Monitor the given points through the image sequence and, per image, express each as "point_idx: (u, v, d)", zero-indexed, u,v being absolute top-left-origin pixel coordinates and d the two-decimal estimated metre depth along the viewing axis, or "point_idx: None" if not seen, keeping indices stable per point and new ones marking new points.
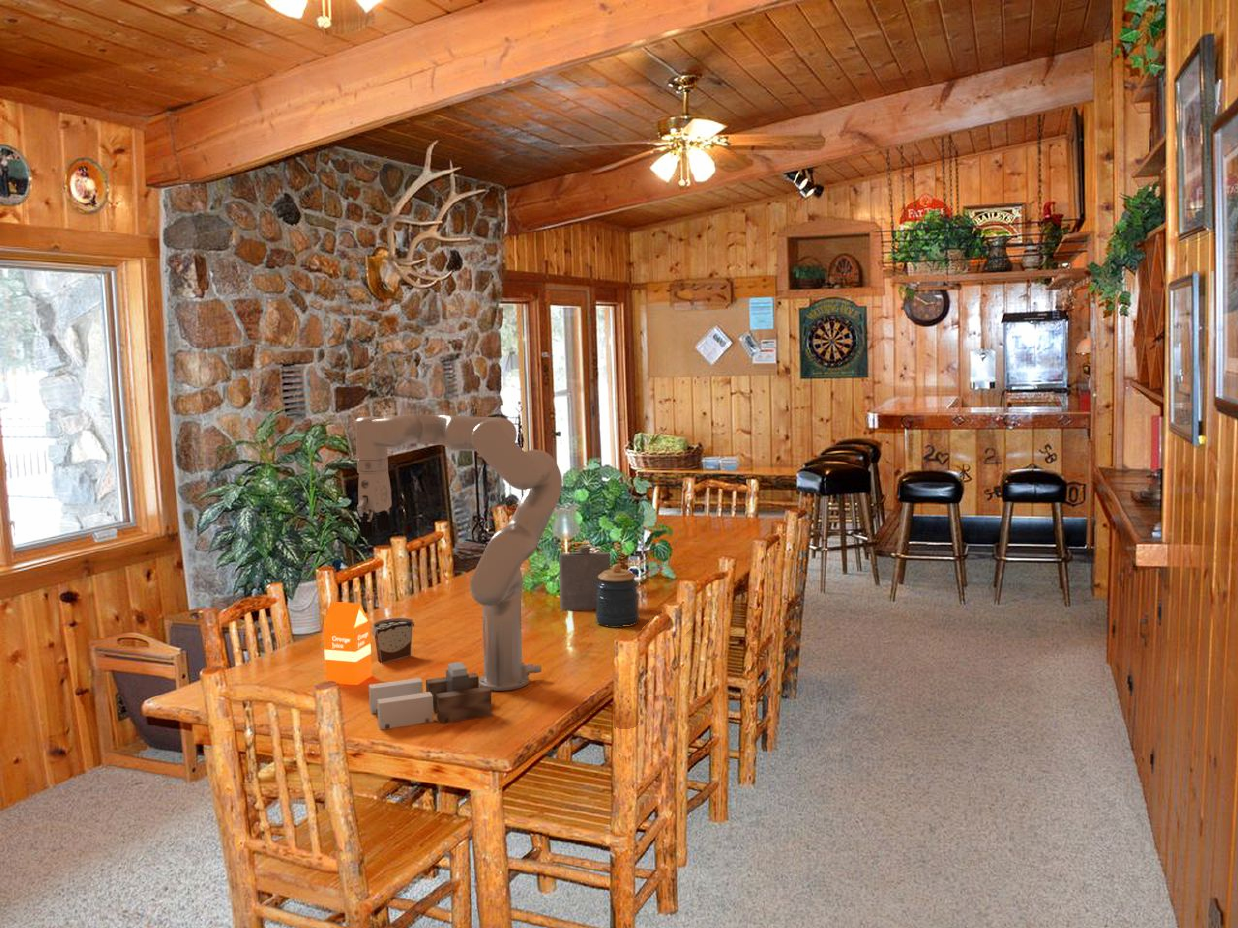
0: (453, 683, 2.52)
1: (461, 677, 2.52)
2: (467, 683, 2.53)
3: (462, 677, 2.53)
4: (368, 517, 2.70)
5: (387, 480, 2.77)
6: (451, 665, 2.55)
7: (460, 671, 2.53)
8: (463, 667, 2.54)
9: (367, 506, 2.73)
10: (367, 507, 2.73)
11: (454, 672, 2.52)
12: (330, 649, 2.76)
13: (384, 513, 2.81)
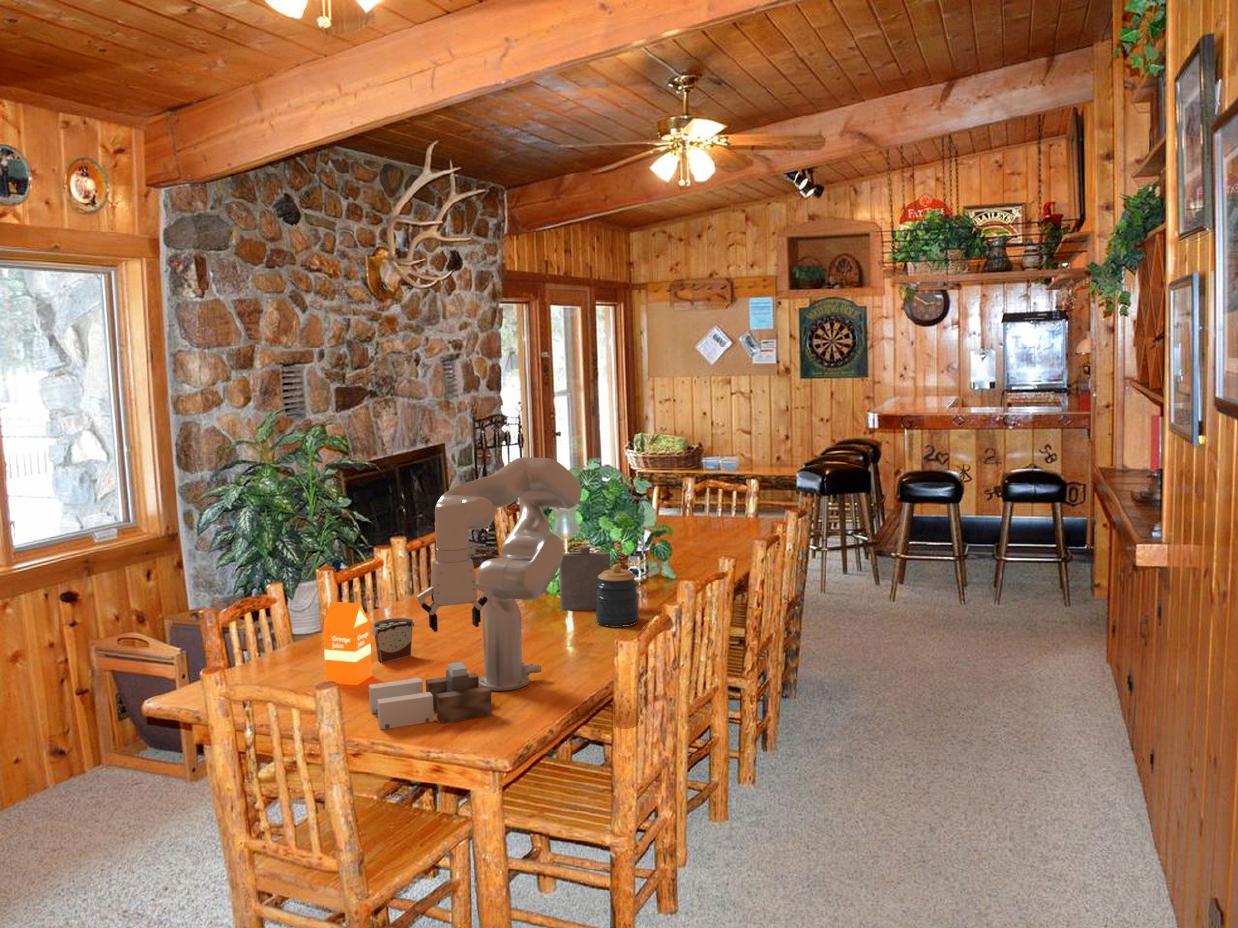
0: (453, 683, 2.52)
1: (461, 677, 2.52)
2: (467, 683, 2.53)
3: (462, 677, 2.53)
4: None
5: None
6: (451, 665, 2.55)
7: (460, 671, 2.53)
8: (463, 667, 2.54)
9: None
10: None
11: (454, 672, 2.52)
12: (330, 649, 2.76)
13: None
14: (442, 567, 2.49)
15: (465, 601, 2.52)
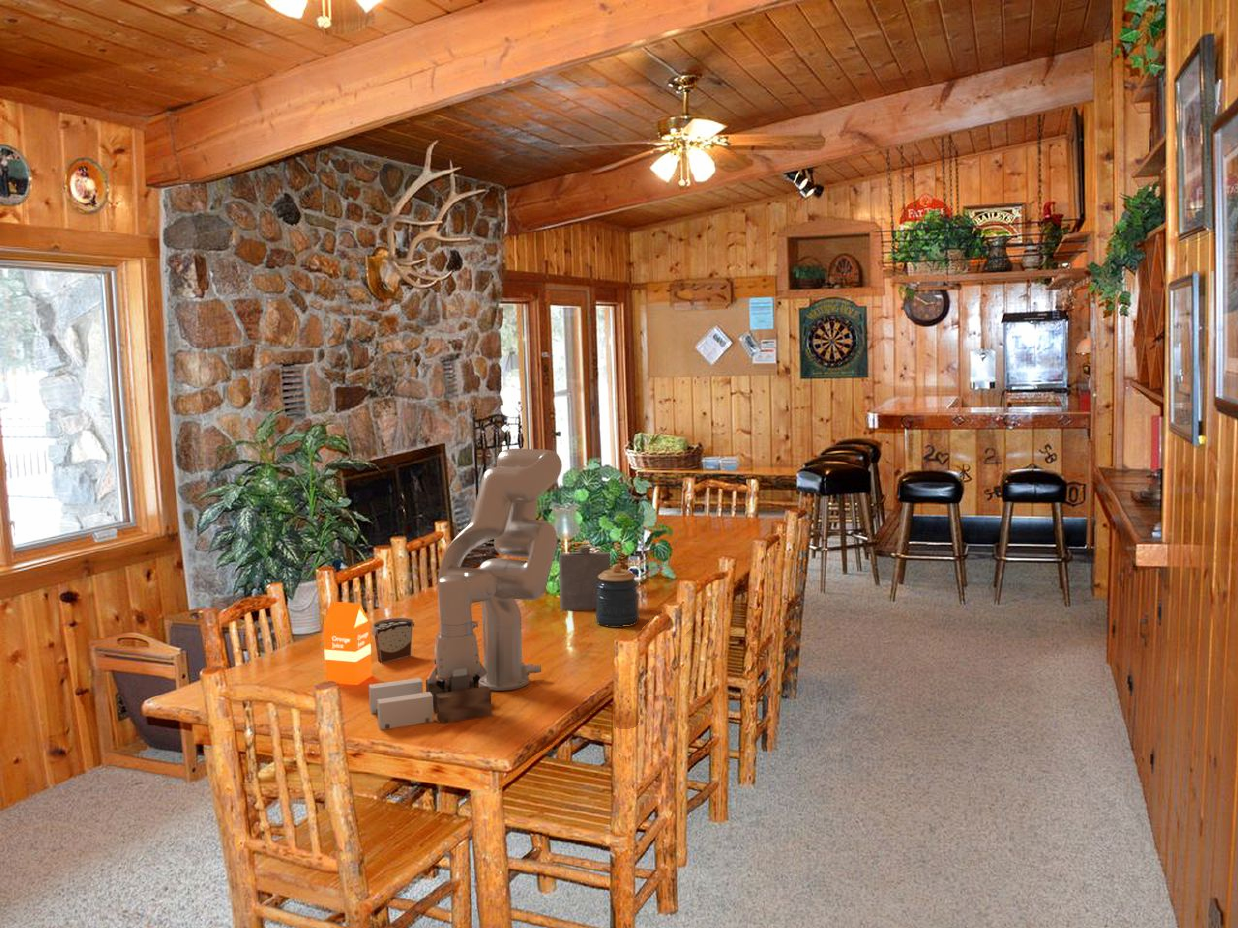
0: (453, 683, 2.52)
1: (461, 677, 2.52)
2: (467, 683, 2.53)
3: (462, 677, 2.53)
4: None
5: None
6: None
7: (460, 671, 2.53)
8: None
9: None
10: None
11: (454, 672, 2.52)
12: (330, 649, 2.76)
13: None
14: (445, 641, 2.51)
15: (468, 674, 2.54)
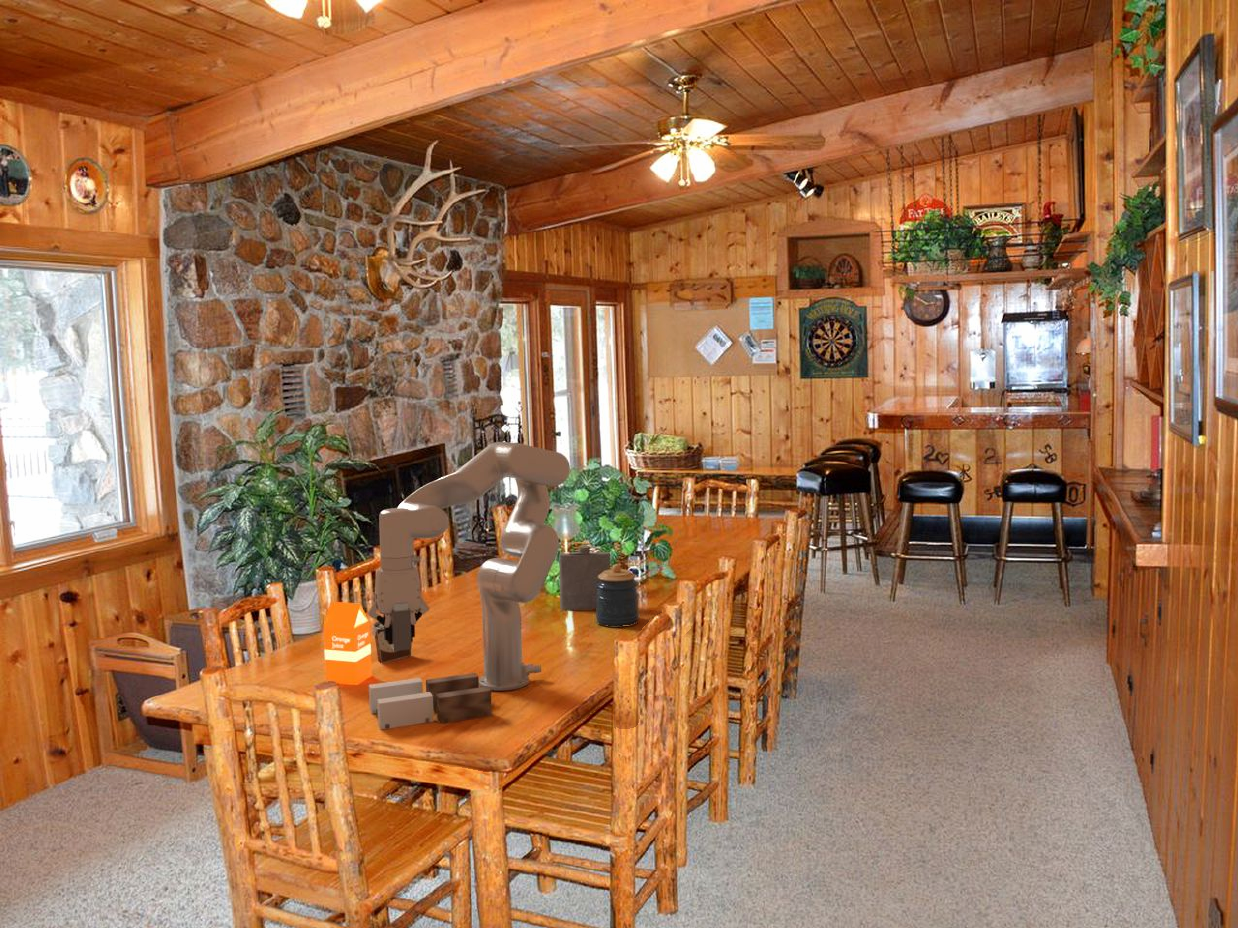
0: (394, 618, 2.47)
1: (402, 612, 2.47)
2: (408, 618, 2.48)
3: (403, 612, 2.47)
4: None
5: None
6: None
7: (401, 606, 2.48)
8: None
9: None
10: None
11: (395, 607, 2.47)
12: (330, 649, 2.76)
13: None
14: (386, 574, 2.46)
15: None
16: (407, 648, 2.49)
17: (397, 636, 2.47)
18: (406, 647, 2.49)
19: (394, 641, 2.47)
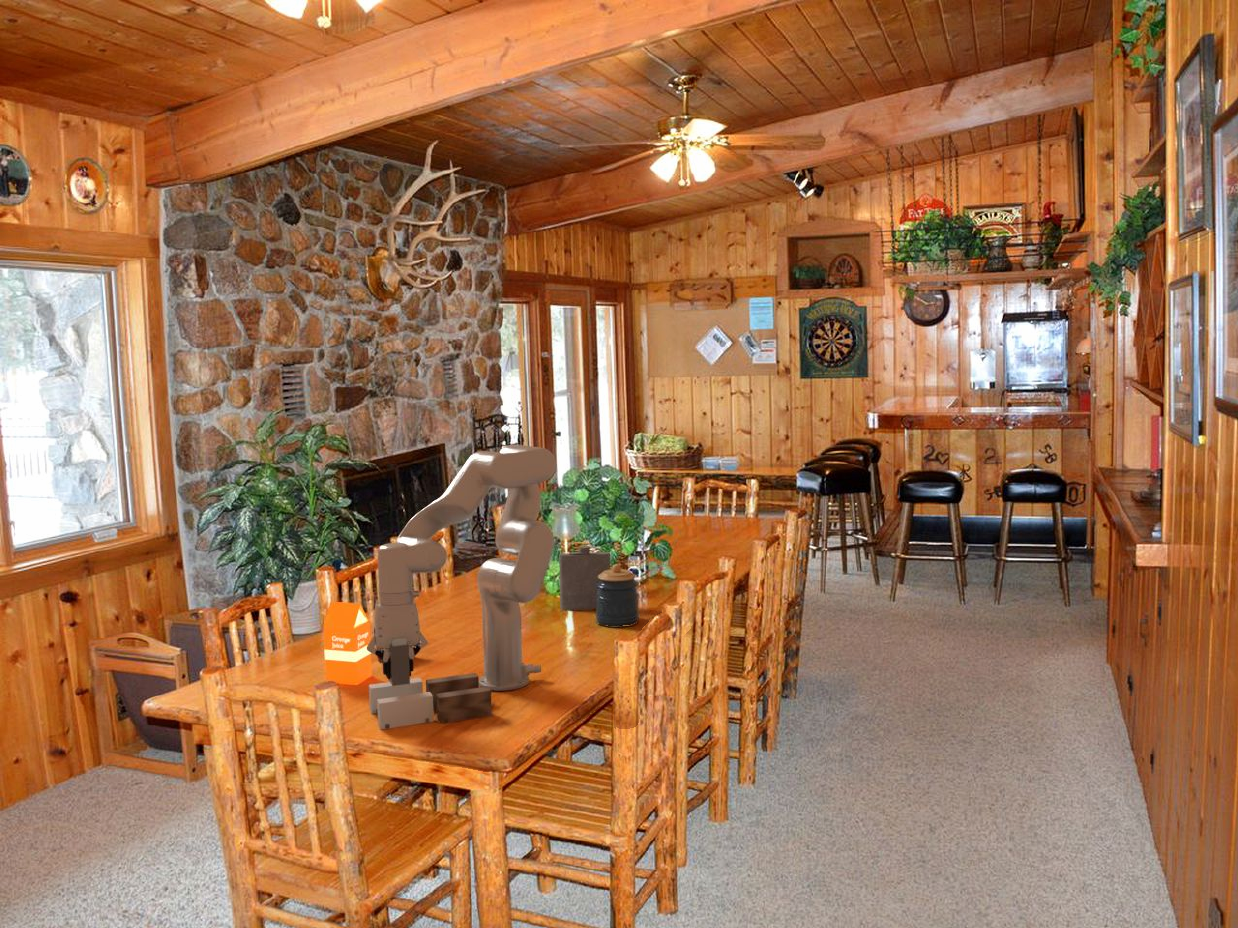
0: (392, 653, 2.48)
1: (400, 647, 2.48)
2: (407, 653, 2.49)
3: (401, 647, 2.48)
4: None
5: None
6: None
7: (400, 640, 2.48)
8: None
9: None
10: None
11: (393, 641, 2.48)
12: (330, 649, 2.76)
13: None
14: (384, 610, 2.47)
15: (408, 644, 2.50)
16: (405, 682, 2.50)
17: (396, 670, 2.48)
18: (404, 681, 2.49)
19: (392, 676, 2.48)
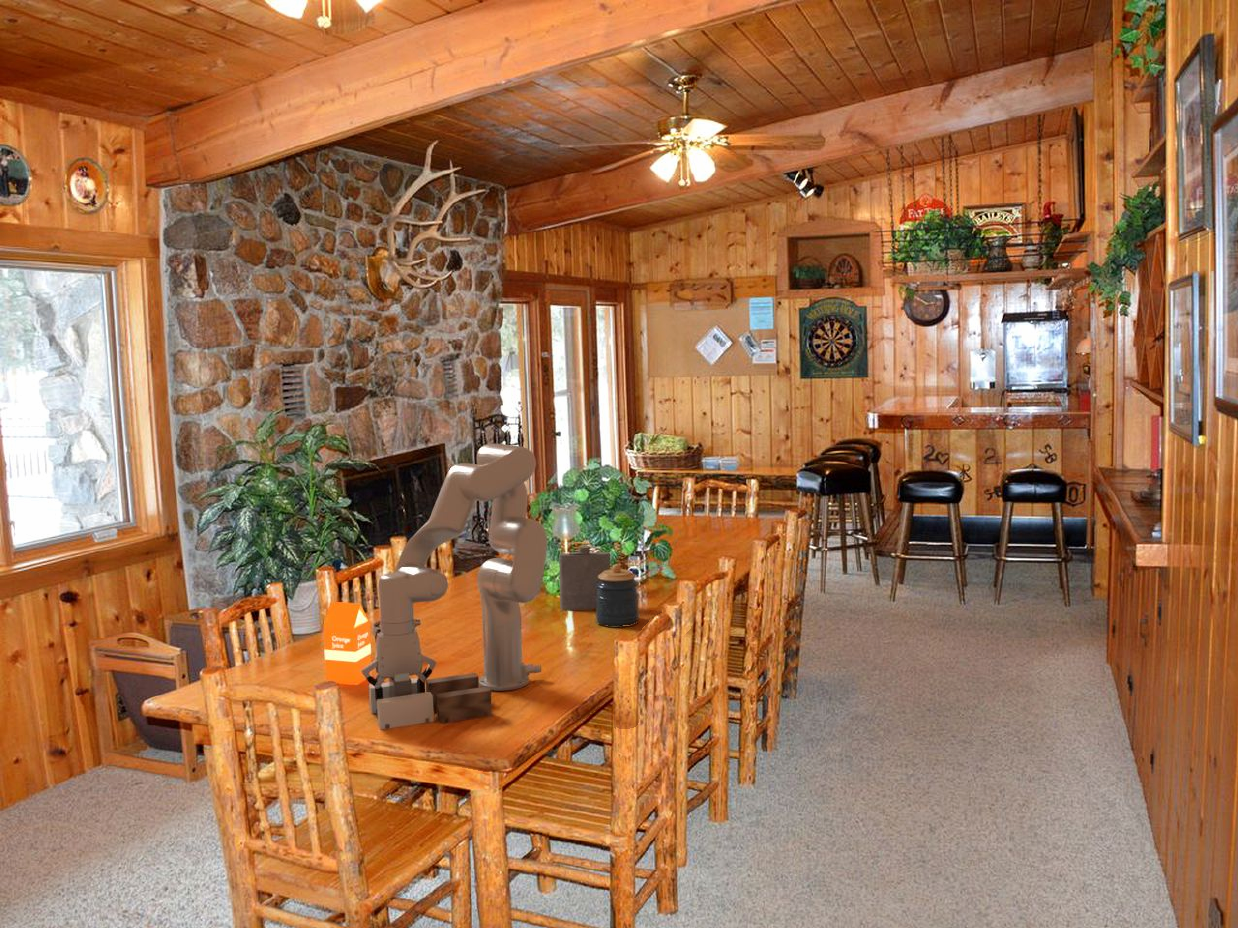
0: (395, 688, 2.49)
1: (403, 682, 2.49)
2: (409, 688, 2.50)
3: (404, 682, 2.50)
4: None
5: None
6: None
7: (402, 676, 2.50)
8: None
9: None
10: None
11: (396, 677, 2.49)
12: (330, 649, 2.76)
13: None
14: (386, 639, 2.48)
15: (410, 673, 2.51)
16: None
17: None
18: None
19: None
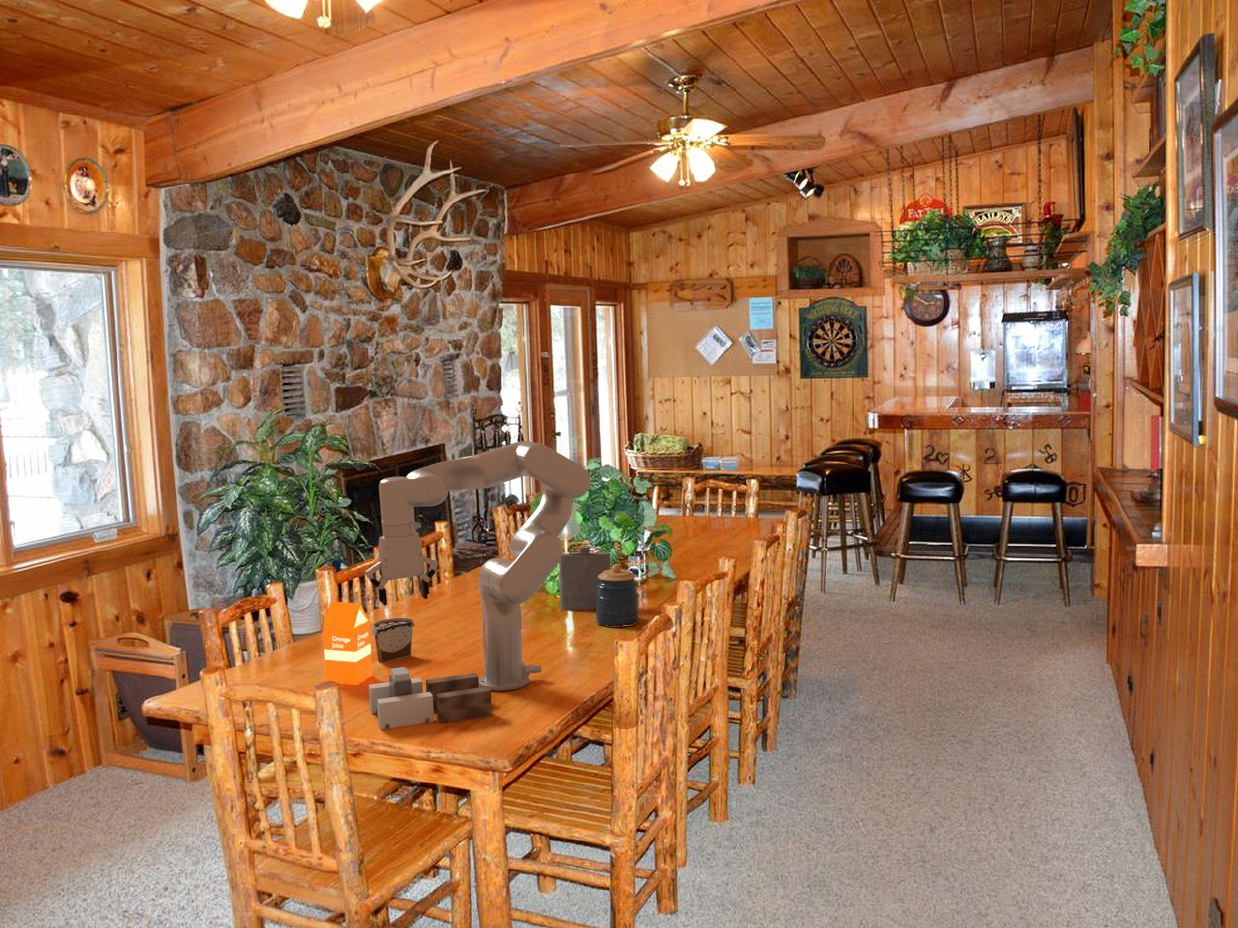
0: (395, 688, 2.49)
1: (403, 682, 2.49)
2: (409, 688, 2.50)
3: (404, 682, 2.50)
4: None
5: None
6: (394, 670, 2.52)
7: (402, 676, 2.50)
8: (405, 672, 2.51)
9: None
10: None
11: (396, 677, 2.49)
12: (330, 649, 2.76)
13: None
14: (388, 541, 2.54)
15: (413, 574, 2.57)
16: None
17: None
18: None
19: None
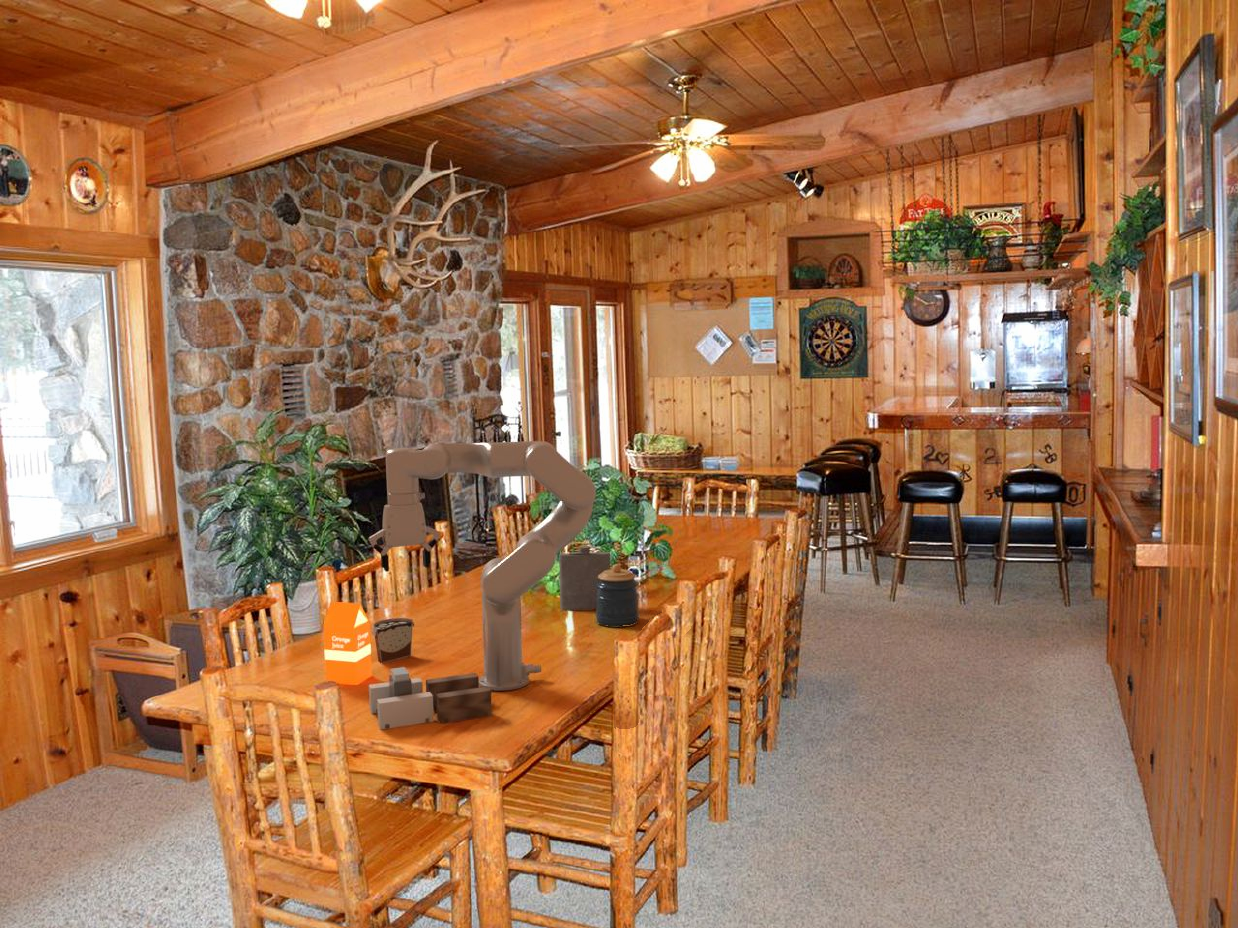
0: (395, 688, 2.49)
1: (403, 682, 2.49)
2: (409, 688, 2.50)
3: (404, 682, 2.50)
4: None
5: None
6: (394, 670, 2.52)
7: (402, 676, 2.50)
8: (405, 672, 2.51)
9: None
10: None
11: (396, 677, 2.49)
12: (330, 649, 2.76)
13: None
14: (392, 509, 2.63)
15: (415, 542, 2.66)
16: None
17: None
18: None
19: None
